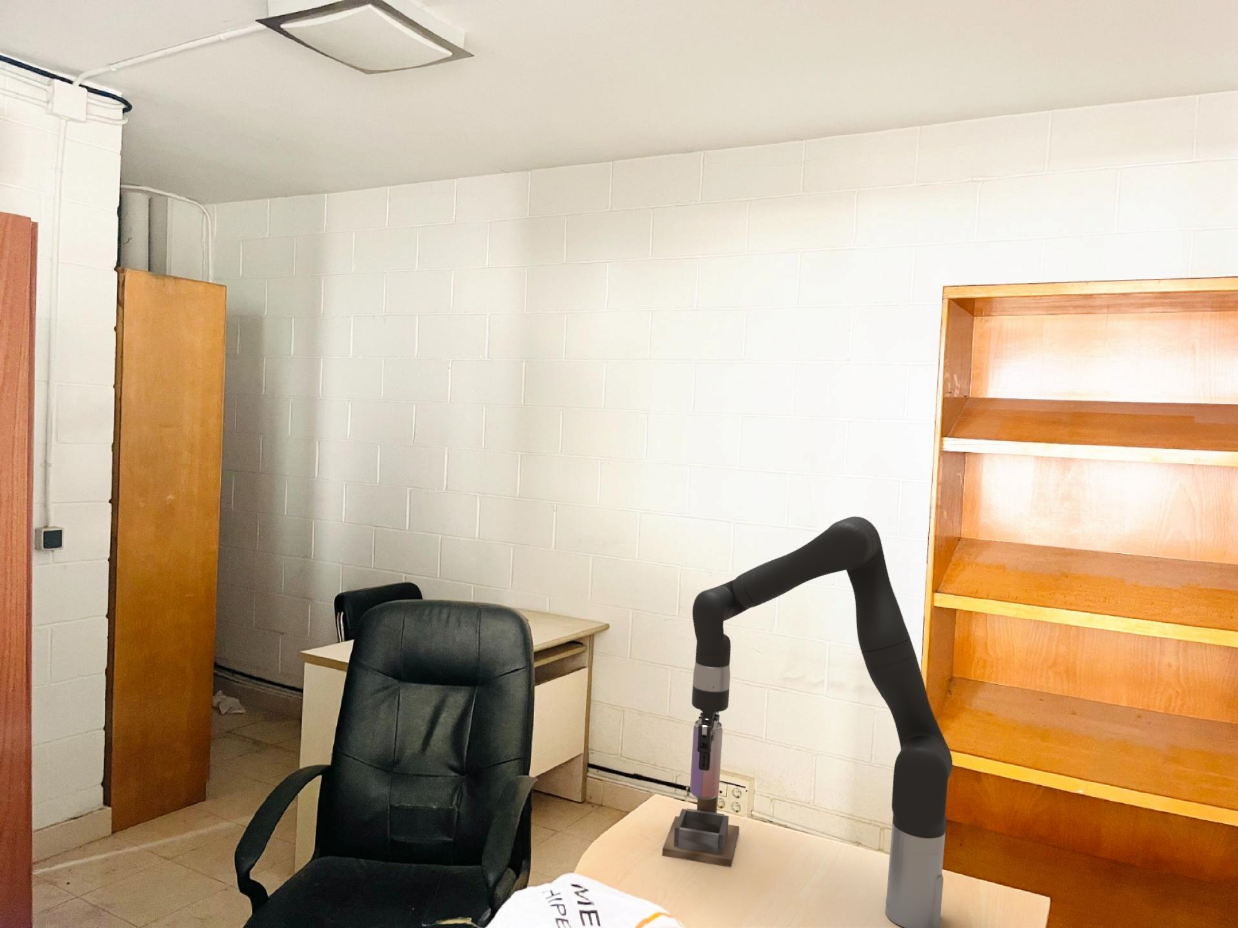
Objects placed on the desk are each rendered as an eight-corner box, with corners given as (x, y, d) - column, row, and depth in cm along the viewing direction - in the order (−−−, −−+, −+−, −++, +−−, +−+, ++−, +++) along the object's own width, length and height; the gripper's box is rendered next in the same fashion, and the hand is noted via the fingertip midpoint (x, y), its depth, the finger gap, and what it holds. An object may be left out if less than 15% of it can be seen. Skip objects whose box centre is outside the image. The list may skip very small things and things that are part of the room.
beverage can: (686, 797, 187) (691, 726, 186) (693, 785, 193) (697, 716, 192) (715, 802, 186) (719, 730, 185) (721, 790, 191) (725, 720, 190)
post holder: (738, 832, 198) (744, 754, 196) (731, 866, 183) (736, 781, 182) (674, 822, 201) (679, 744, 199) (662, 855, 186) (667, 771, 185)
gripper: (725, 697, 180) (720, 780, 181) (733, 676, 194) (728, 753, 195) (687, 692, 182) (682, 774, 183) (698, 671, 196) (693, 748, 197)
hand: (706, 763), depth 189 cm, fingers closed on beverage can, 6 cm apart
